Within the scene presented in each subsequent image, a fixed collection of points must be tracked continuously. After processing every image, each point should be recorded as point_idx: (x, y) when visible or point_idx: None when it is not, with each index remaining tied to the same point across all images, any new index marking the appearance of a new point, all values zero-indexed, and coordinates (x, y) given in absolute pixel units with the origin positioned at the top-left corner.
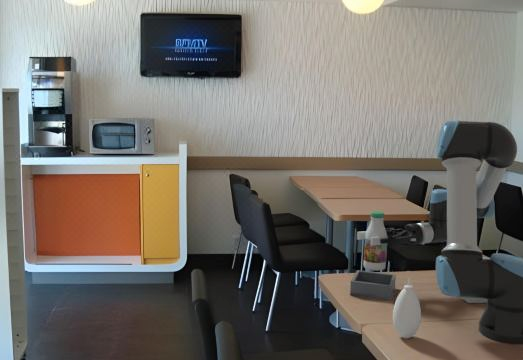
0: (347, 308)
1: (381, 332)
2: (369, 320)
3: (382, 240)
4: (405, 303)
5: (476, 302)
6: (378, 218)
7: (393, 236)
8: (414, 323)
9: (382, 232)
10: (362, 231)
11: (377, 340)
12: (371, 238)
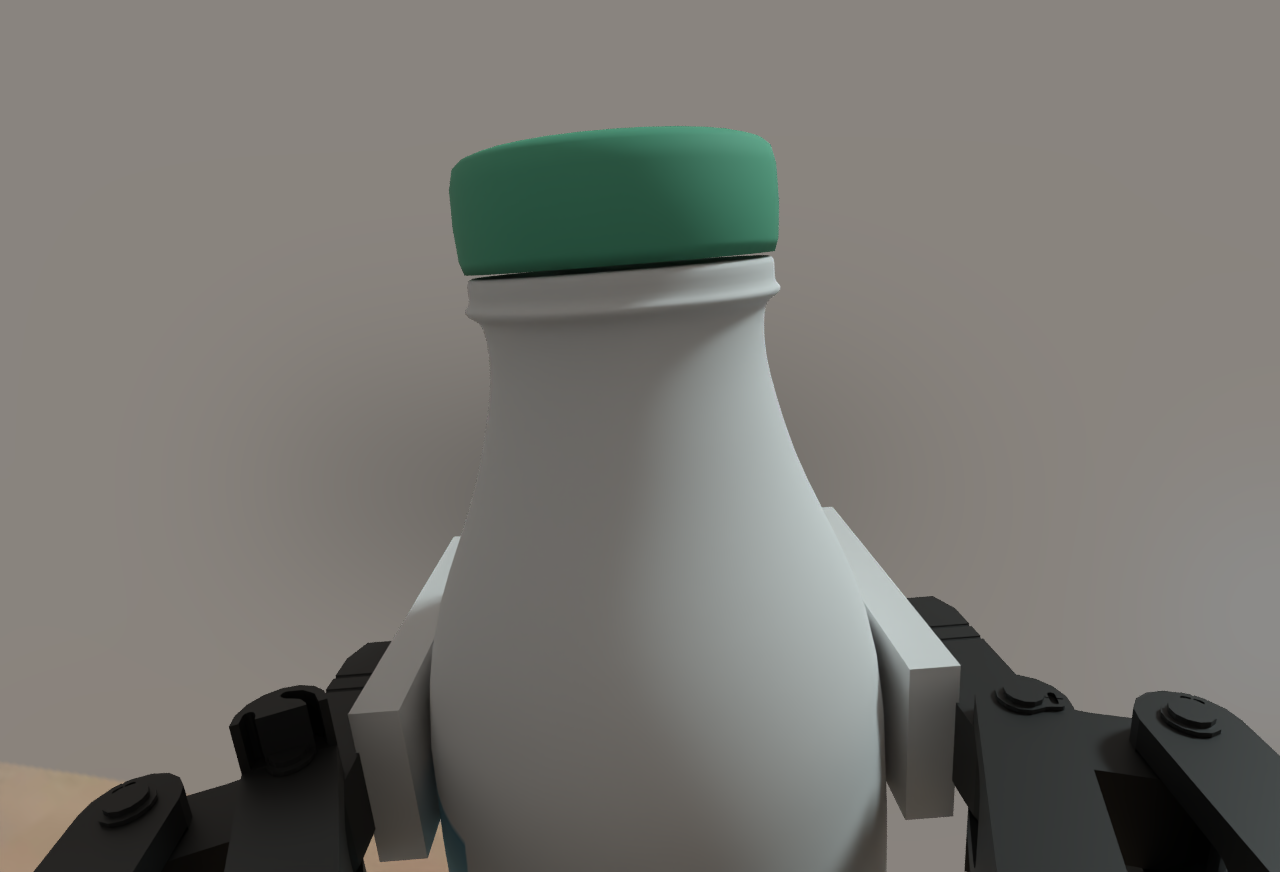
0: (437, 830)
1: (49, 841)
2: None
3: (361, 659)
4: None
5: None
6: (495, 277)
7: (267, 853)
8: None
9: (446, 585)
10: (853, 541)
11: (35, 782)
12: None
